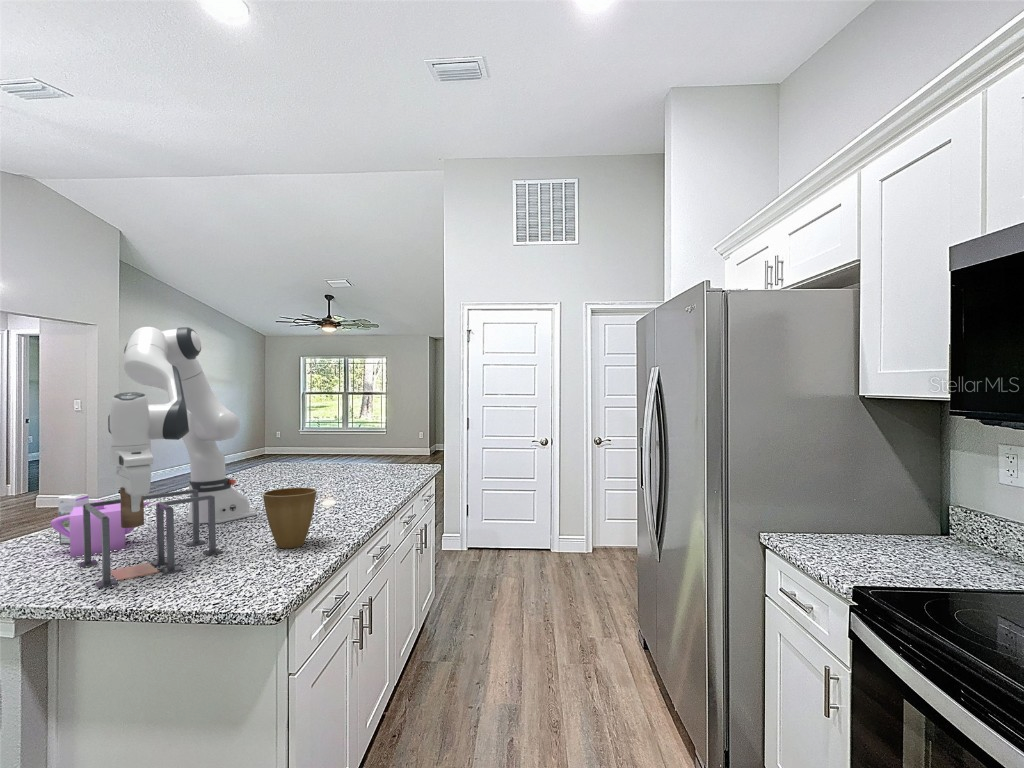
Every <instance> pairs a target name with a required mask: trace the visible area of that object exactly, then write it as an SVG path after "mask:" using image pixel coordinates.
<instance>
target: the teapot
mask: <svg viewBox="0 0 1024 768" xmlns="http://www.w3.org/2000/svg"><path fill="white" fill-rule="evenodd" d="M102 501H105V500H103V499H102V500H101V499H100V500H94V501H91V502H90V503H94V502H102ZM149 504H152V501H147V502H145V501H144V508H145V507H146V506H148V505H149ZM94 508H96V509H97V510H99V511H100V512H102V513H103V514H105V515H106V516H108V518H109V529H110V551H114V550H121V549H125V550H126V535H127V534H130V533H131V532H133V531H134V529H135V528H136V527H133V528H122V527H121V503H118V504H111V505H104V506H96V507H94ZM67 519H69V521H70V532H69V531H68V530H66V529H65V528H64V527H63V526H62V524H61V522H62V521H64V520H67ZM90 525H91V554H95V553H102V536H101V520H100V519H99V518H97V517H96V516H95V515H93V514H92V513H91V512H90ZM50 526H51V528H52V529H53V530H54V531H56V532H57V533H61V534H63V535H65V536H67V537H69V538H70V544H69V547H70V549H69V550H70V551H69V553H70V557H74V558H76V557H75V556H81V557H83V556H82V555H84V538H83V507H74V508H73V510H72V512H71V515H65V516H61V517H59V516H58V517H56V518H55V517H54V518H52V520H51V521H50ZM95 555H96V554H95Z"/></svg>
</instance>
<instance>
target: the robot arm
mask: <svg viewBox="0 0 1024 768" xmlns="http://www.w3.org/2000/svg"><path fill="white" fill-rule="evenodd" d="M201 352H202V343H201V340H200V337H199V335H198V333H197V332H196V330H195V329H193V328H191V327H186V326H185V327H183V326H182V327H177V328H173V329H167V330H166V329H165V330H160V329H159V328H156V327H153V326H142V327H138V328H137V329H135V331H134V332H133V333H132V334H131V336H130V338H129V340H128V342H127V343H126V345H125V347H124V349H123V353H124V356H123V370H124V372H125V374H126V375H127V376H128V377H129V378H130V379H131V380H132V381H134V382H135V383H137V384H140V385H143V386H147V387H154V388H158V389H161V390H163V391H165V392H167V394H168V401H169V402H166V403H157V404H154V403H153V404H152V403H151V404H149V401H148V400H149V399H148V397H147V395H146V394H144V393H142V392H138V391H137V392H136V391H135V392H134V391H132V392H127V391H126V392H121V393H117V394H115V395H113V396H112V399H111V401H110V402H111V404H110V407H109V409H110V410H109V415H108V418H107V424H108V425H107V427H108V428H107V430H108V433H109V434H110V436H111V439H110V443H109V455H110V458H109V460H110V461H109V463H110V464H111V465H115V466H114V474H115V475H114V485H115V488H116V489H117V490H119V491H120V488H121V487H123V488H125V492H126V493H127V494H129V495H130V498H131V505H130V510H131V511H132V512H138V511H140V502H141V496H147V495H150V490H151V482H152V481H151V480H152V466H151V465H153V464H154V455H153V454H152V448H151V446H152V443H151V441H153V440H168V441H169V440H173V441H174V440H175V441H176V440H180V439H182V441H183V443H184V445H185V448H186V451H187V454H188V457H189V465H190V467H189V468H190V480H189V485H188V490H193V489H195V490H198V496H199V497H201V496H208V495H212V496H215V524H221V523H225V522H231V521H236V520H238V519H239V520H240V519H243V518H249V517H252V516H253V517H254V516H257V511H256V509H255V508H251V507H250V503H249V499H248V497H247V496H246V495H244V494H242V493H241V492H239V491H237V490H236V489H234V488H233V487H232V486H235V485H236V483H237V480H236V479H233V478H228V477H226V456H225V455H224V454H223V451H221V450H220V449H219V447H218V445H217V442H221V441H226V440H230V439H232V438H235V436H237V434H238V433H239V431H240V425H241V424H240V419H239V417H238V415H236V413H234V412H232V411H231V410H229V409H228V408H227V407H226V406H225V405H224V404H223V403H222V402H221V401H220V399H219V398H218V397H217V396H216V394H215V392H214V391H213V389H211V386H210V383H209V382H208V379H207V377H206V375H205V372H204V371H203V368H202V366H201V364H200V362H199V360H198V359H197V358H198V356H199V355H200V353H201ZM189 498H192V494H189ZM186 518H187V519H186V522H187V523H190V524H193V520H192V502H189V508H188V514H187V517H186ZM199 524H208V500H202V501H199Z"/></svg>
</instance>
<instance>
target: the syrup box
mask: <svg viewBox="0 0 1024 768" xmlns="http://www.w3.org/2000/svg"><path fill="white" fill-rule="evenodd" d="M87 503H90V495H89V494H88V493H85V494H84V493H70V494H65V495H61V496H60V497H59V496H58V498H57V505H58V509H57V510H58V517H61V516H65V515H71V512H72V510H73V508H74V507H83V505H84V504H87ZM61 524H62V526H63V527H64V528H65V529H66V530H68V531H69V532H70V521H69V519H67V520H64V521H62V522H61ZM58 533H59V532H58ZM58 535H59V544H60V545H70V538H69V537H67V536H65V535H63V534H61V533H59V534H58Z"/></svg>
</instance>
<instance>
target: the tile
mask: <svg viewBox="0 0 1024 768" xmlns="http://www.w3.org/2000/svg"><path fill="white" fill-rule="evenodd" d="M110 570H111V574H112V575H113V576H114V577H115V578H116V579H117V580H118V582H120V581H119V580H122V581H125V580H124V579H127V580H130V579H129V578H131V579H134V578H133V577H136V578H139V577H138V576H141V577H144V575H145V576H149V575H150V576H151V575H153V574H154V573H155V574H159V573H160V570H159V569H158V568H157V567H154V566H153V565H151V563H149V562H146V563H142V564H138V565H137V564H136V565H132V566H127V567H122V568H117V569H110ZM112 575H111V576H112ZM113 576H112V577H113ZM114 577H113V578H114ZM115 578H114V579H115Z"/></svg>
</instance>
